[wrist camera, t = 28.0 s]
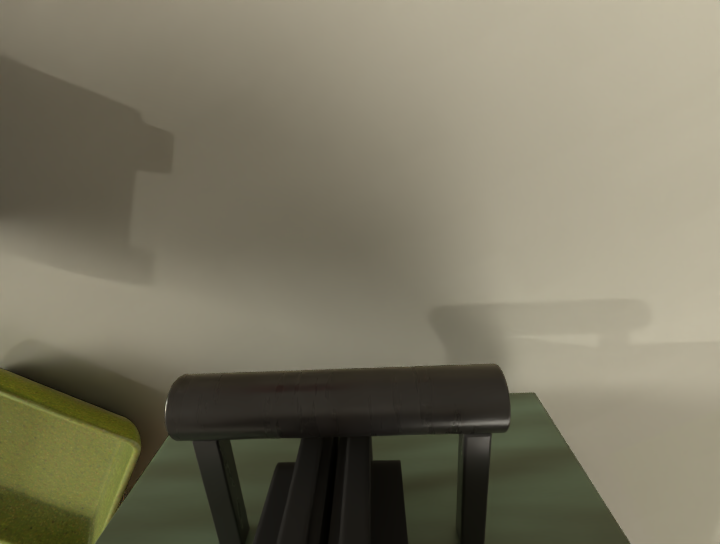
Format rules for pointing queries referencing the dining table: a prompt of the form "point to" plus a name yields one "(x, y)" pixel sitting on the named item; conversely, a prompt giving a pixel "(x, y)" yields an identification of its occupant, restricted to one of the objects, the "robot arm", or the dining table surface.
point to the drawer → (389, 442)
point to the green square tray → (59, 464)
